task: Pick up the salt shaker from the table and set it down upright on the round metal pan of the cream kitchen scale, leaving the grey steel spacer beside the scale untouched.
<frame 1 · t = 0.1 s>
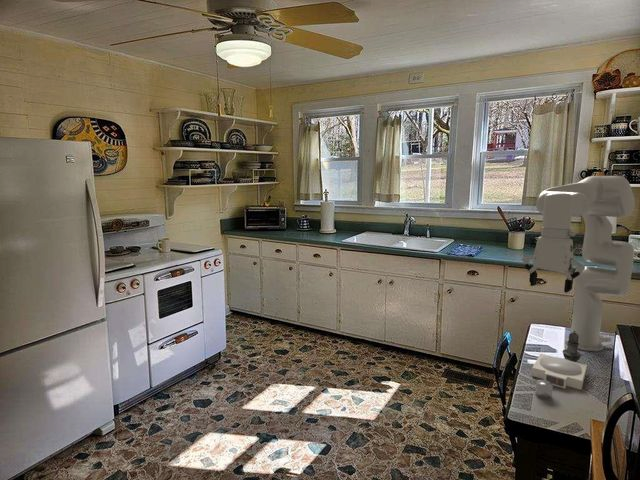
hand: (549, 288, 125), 31 cm above the table, tool pointing down, fingers open, 9 cm apart
scale: (559, 374, 135), on the table
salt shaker: (570, 363, 144), on the table
steel spacer: (543, 395, 122), on the table
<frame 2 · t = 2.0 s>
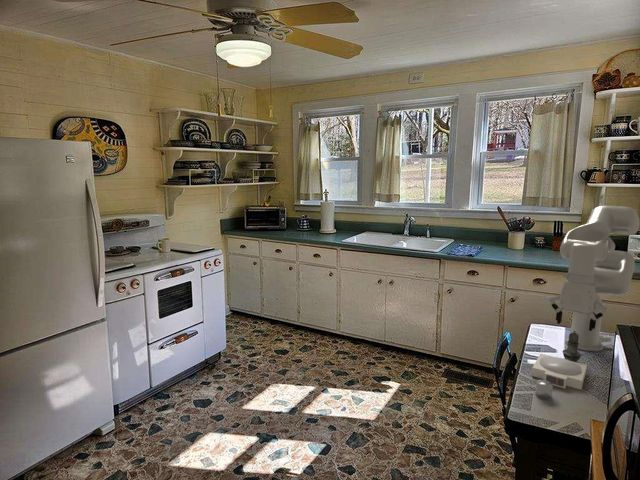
hand: (574, 326, 142), 14 cm above the table, tool pointing down, fingers open, 9 cm apart
nothing on the table moved.
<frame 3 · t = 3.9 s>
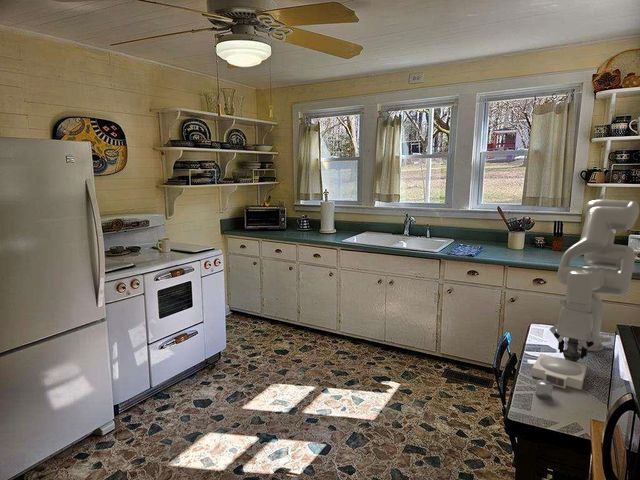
hand: (571, 354, 144), 3 cm above the table, tool pointing down, fingers closed on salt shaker, 5 cm apart
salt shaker: (570, 363, 144), on the table, touching gripper
everything else where it was.
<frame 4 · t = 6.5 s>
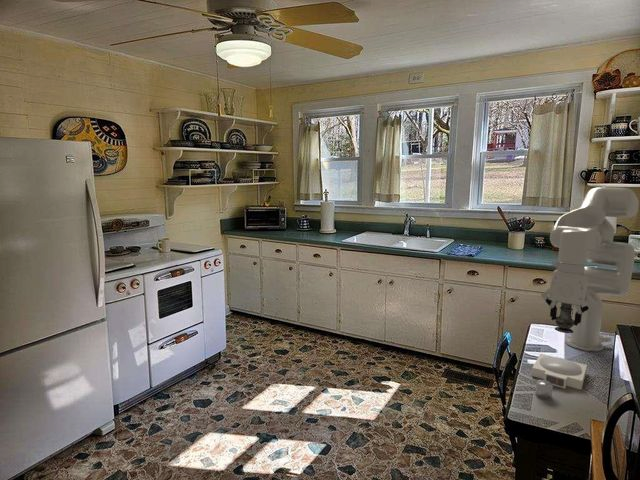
hand: (564, 321, 132), 19 cm above the table, tool pointing down, fingers closed on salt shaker, 5 cm apart
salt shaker: (563, 330, 133), point 15 cm above the table, touching gripper
everything else where it was.
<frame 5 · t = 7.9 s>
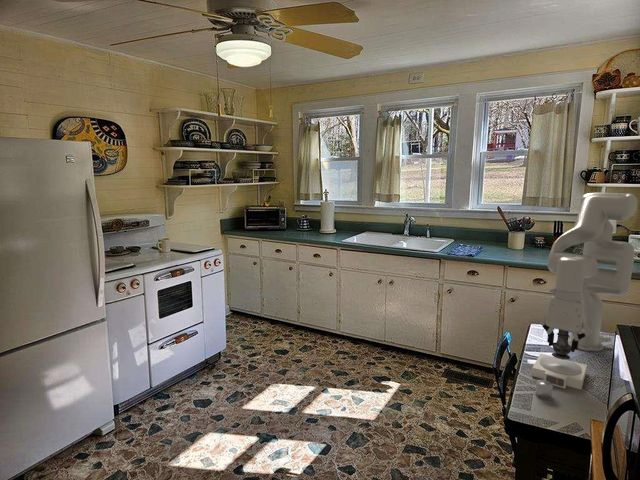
hand: (561, 347, 133), 10 cm above the table, tool pointing down, fingers closed on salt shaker, 5 cm apart
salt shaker: (560, 356, 134), point 6 cm above the table, touching gripper
everything else where it was.
when the fingers open (7 cm above the table, at t = 9.3 s): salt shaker stays where it is, resting on scale.
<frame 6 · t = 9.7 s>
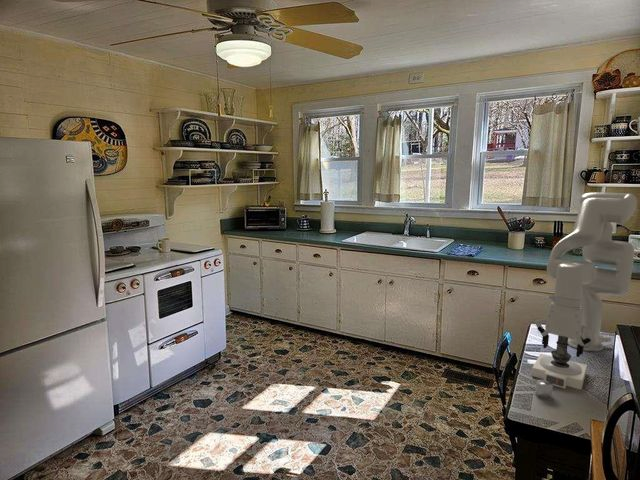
hand: (561, 351, 134), 8 cm above the table, tool pointing down, fingers open, 9 cm apart
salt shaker: (559, 364, 135), point 3 cm above the table, touching scale
everything else where it was.
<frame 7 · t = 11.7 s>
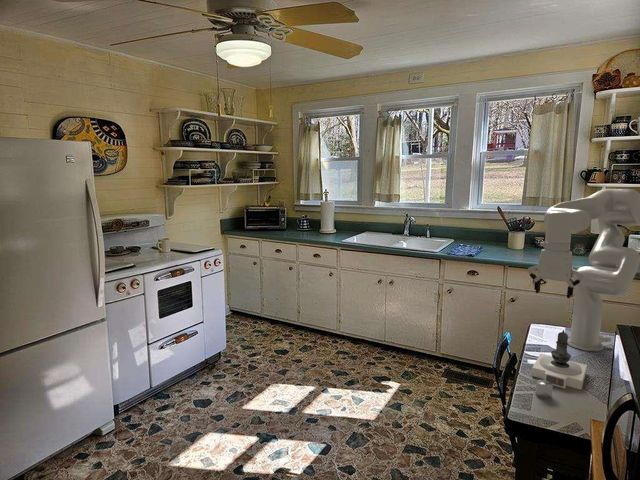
hand: (552, 294, 141), 25 cm above the table, tool pointing down, fingers open, 9 cm apart
nothing on the table moved.
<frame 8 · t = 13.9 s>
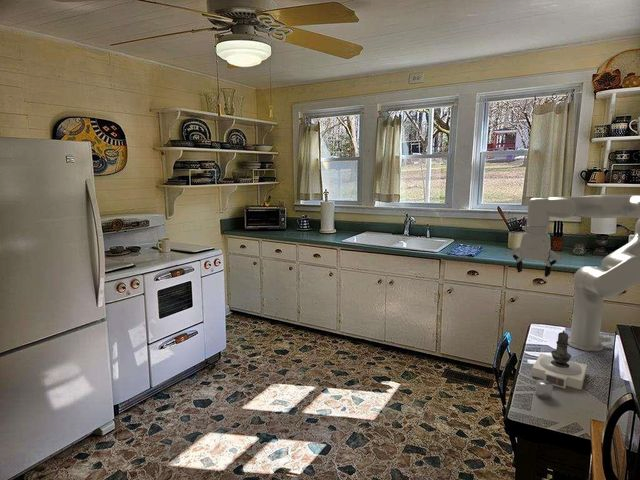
hand: (532, 274, 156), 28 cm above the table, tool pointing down, fingers open, 9 cm apart
nothing on the table moved.
at the end: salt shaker 0.2 cm from the scale (horizontally); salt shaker point 3.4 cm above the table; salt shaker tilted 0° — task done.
